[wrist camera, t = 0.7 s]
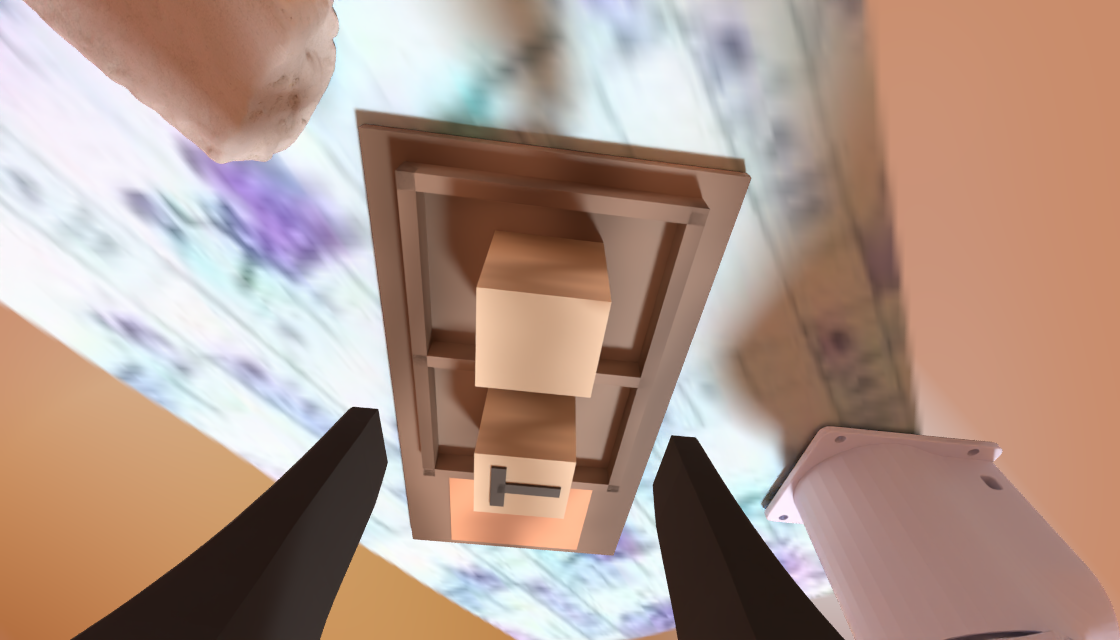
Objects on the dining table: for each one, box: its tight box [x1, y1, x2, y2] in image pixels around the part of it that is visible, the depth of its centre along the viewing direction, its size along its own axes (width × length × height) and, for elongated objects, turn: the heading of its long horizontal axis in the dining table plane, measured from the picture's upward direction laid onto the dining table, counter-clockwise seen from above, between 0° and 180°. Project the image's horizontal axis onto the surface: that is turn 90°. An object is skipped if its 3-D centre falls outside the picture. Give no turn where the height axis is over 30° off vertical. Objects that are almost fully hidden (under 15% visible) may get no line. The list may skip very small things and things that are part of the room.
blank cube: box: [475, 230, 612, 398], centre depth 16 cm, size 4×4×4 cm
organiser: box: [358, 124, 751, 555], centre depth 22 cm, size 13×25×2 cm, turn 173°
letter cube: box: [474, 388, 576, 519], centre depth 20 cm, size 4×4×4 cm
